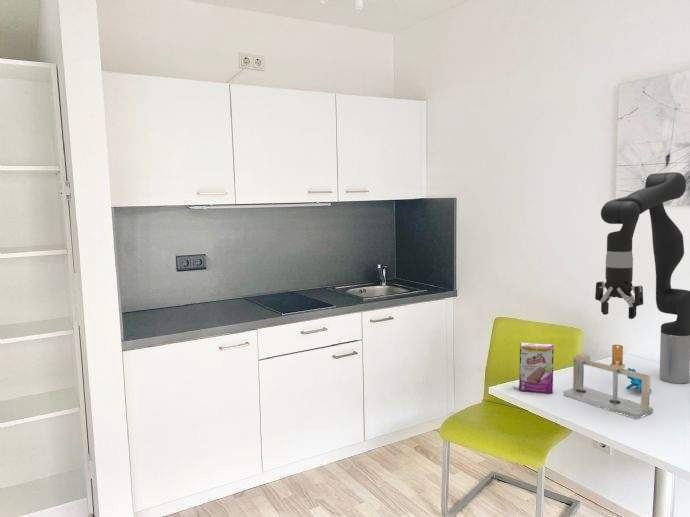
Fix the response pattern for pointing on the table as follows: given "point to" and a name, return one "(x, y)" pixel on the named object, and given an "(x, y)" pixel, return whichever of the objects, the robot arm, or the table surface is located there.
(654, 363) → the table surface
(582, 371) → the divider frame
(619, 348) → the cylinder
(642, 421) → the table surface
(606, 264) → the robot arm
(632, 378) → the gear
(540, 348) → the candy bar box
